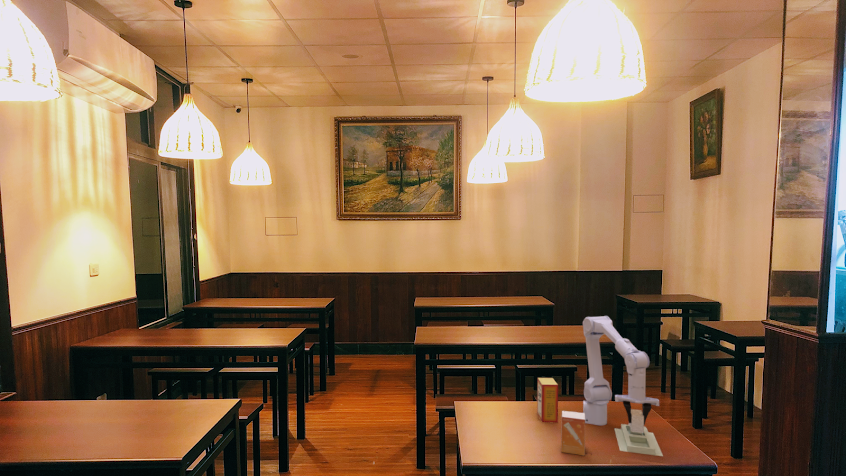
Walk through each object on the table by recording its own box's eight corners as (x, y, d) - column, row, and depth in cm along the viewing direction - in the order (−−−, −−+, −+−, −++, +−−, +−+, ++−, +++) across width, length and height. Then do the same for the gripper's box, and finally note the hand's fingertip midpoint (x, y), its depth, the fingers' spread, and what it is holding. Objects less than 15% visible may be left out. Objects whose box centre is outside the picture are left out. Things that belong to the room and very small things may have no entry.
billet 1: (631, 431, 169) (631, 414, 169) (629, 425, 174) (629, 409, 174) (643, 433, 168) (643, 416, 168) (641, 426, 173) (641, 410, 173)
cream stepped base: (619, 452, 168) (619, 445, 168) (614, 430, 187) (614, 423, 187) (663, 458, 164) (663, 450, 164) (652, 434, 183) (653, 427, 183)
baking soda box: (537, 413, 204) (537, 376, 204) (552, 413, 204) (552, 377, 204) (541, 422, 195) (542, 383, 195) (557, 422, 195) (558, 384, 194)
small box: (561, 452, 168) (561, 416, 168) (561, 445, 174) (561, 410, 174) (585, 456, 165) (585, 419, 165) (584, 448, 172) (584, 412, 171)
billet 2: (630, 438, 178) (630, 422, 178) (628, 431, 184) (628, 416, 184) (642, 439, 177) (642, 423, 177) (639, 433, 183) (639, 417, 182)
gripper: (616, 387, 169) (616, 424, 169) (660, 391, 165) (660, 429, 165) (614, 381, 176) (614, 417, 176) (657, 385, 172) (656, 422, 172)
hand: (636, 422), depth 171 cm, fingers closed on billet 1, 4 cm apart
